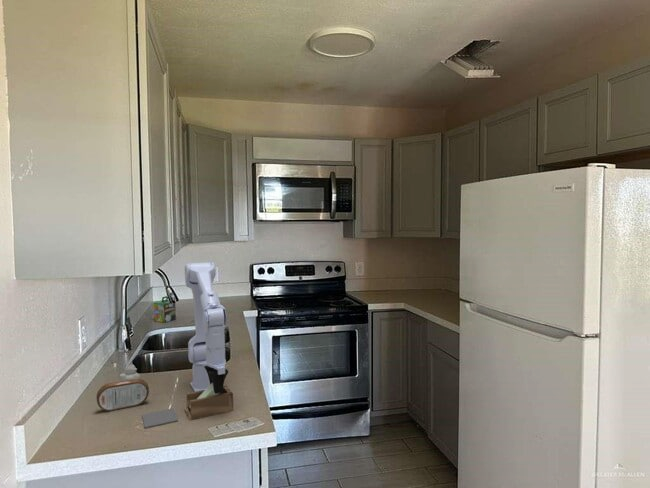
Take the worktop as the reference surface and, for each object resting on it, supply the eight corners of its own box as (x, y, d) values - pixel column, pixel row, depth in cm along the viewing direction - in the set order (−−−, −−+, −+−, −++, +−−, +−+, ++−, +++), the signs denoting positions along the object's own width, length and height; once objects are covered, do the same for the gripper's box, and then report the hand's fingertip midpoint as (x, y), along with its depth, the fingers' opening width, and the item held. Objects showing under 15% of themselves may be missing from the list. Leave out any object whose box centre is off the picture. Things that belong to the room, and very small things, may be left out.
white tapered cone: (138, 385, 152) (137, 363, 151) (118, 387, 150) (117, 365, 149) (141, 379, 157) (140, 358, 156) (121, 381, 155) (120, 360, 155)
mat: (142, 415, 127) (142, 414, 127) (173, 409, 131) (173, 408, 131) (144, 428, 119) (144, 427, 119) (178, 421, 124) (178, 419, 123)
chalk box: (165, 318, 258) (164, 294, 258) (176, 319, 254) (175, 295, 253) (153, 321, 250) (152, 296, 249) (164, 323, 246) (163, 298, 245)
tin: (149, 400, 138) (148, 375, 138) (150, 404, 136) (149, 378, 135) (97, 410, 131) (95, 384, 131) (96, 414, 128) (95, 387, 128)
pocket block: (184, 410, 130) (184, 393, 130) (226, 401, 136) (226, 385, 136) (189, 420, 124) (188, 402, 124) (233, 410, 130) (232, 393, 130)
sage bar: (194, 410, 130) (189, 406, 129) (219, 385, 133) (213, 380, 133) (197, 416, 127) (192, 411, 126) (222, 390, 130) (217, 385, 129)
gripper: (197, 343, 135) (198, 384, 136) (207, 355, 122) (208, 401, 123) (219, 339, 138) (220, 380, 139) (231, 351, 125) (232, 396, 126)
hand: (216, 389), depth 131 cm, fingers closed on sage bar, 4 cm apart
